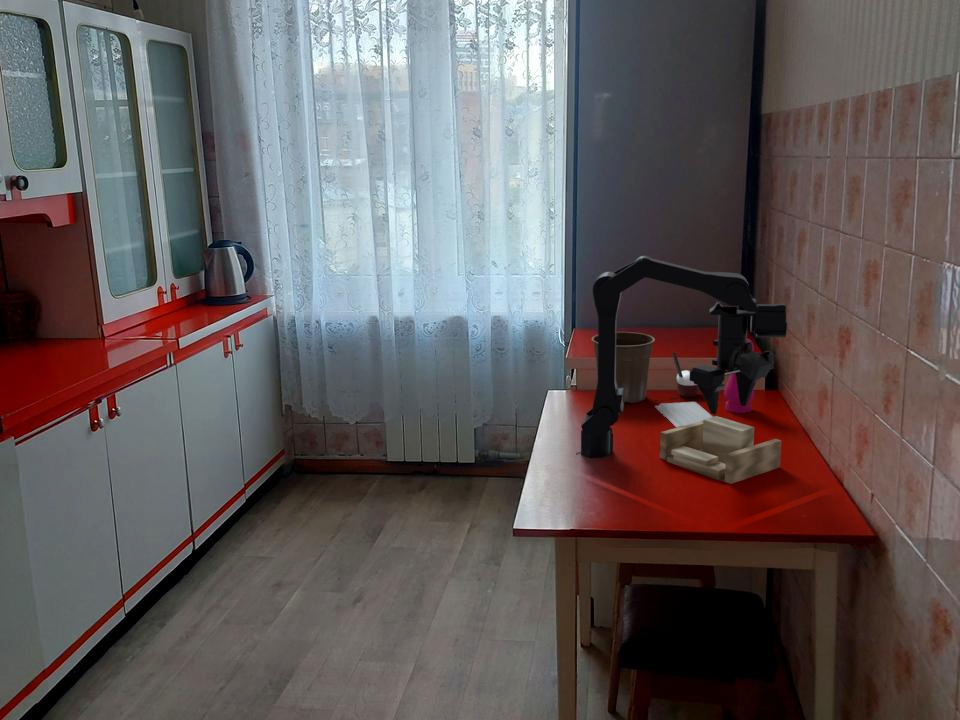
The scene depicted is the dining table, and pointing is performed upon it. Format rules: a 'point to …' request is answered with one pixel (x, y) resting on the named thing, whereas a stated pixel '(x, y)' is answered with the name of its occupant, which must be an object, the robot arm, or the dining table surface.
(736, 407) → the pepper mill
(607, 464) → the dining table surface
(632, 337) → the plant pot
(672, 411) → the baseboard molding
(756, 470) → the rack
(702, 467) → the offcut stack
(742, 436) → the beige wooden block
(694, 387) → the cocoa
